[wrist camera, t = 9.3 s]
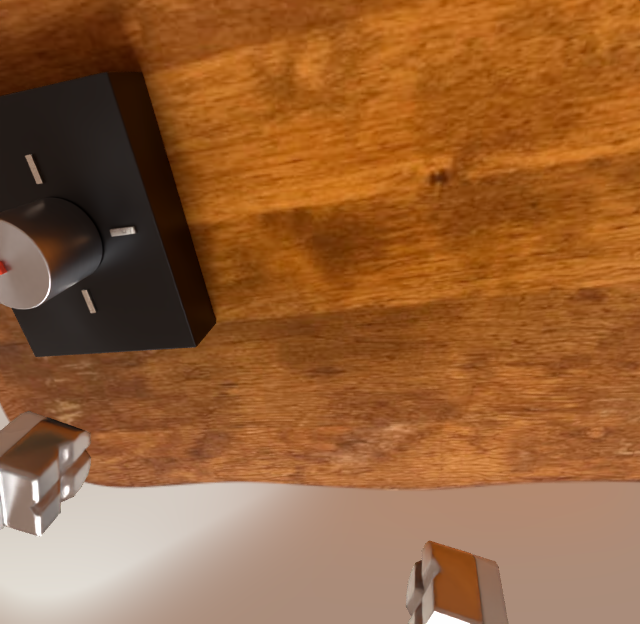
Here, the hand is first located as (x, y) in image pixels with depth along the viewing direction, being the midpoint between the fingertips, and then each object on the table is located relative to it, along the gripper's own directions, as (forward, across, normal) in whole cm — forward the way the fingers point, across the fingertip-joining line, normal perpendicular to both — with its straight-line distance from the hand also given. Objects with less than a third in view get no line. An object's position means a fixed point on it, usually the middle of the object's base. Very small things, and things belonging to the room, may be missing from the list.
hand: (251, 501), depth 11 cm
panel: (+17, +14, +2) cm, 22 cm away
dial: (+14, +15, +2) cm, 20 cm away
